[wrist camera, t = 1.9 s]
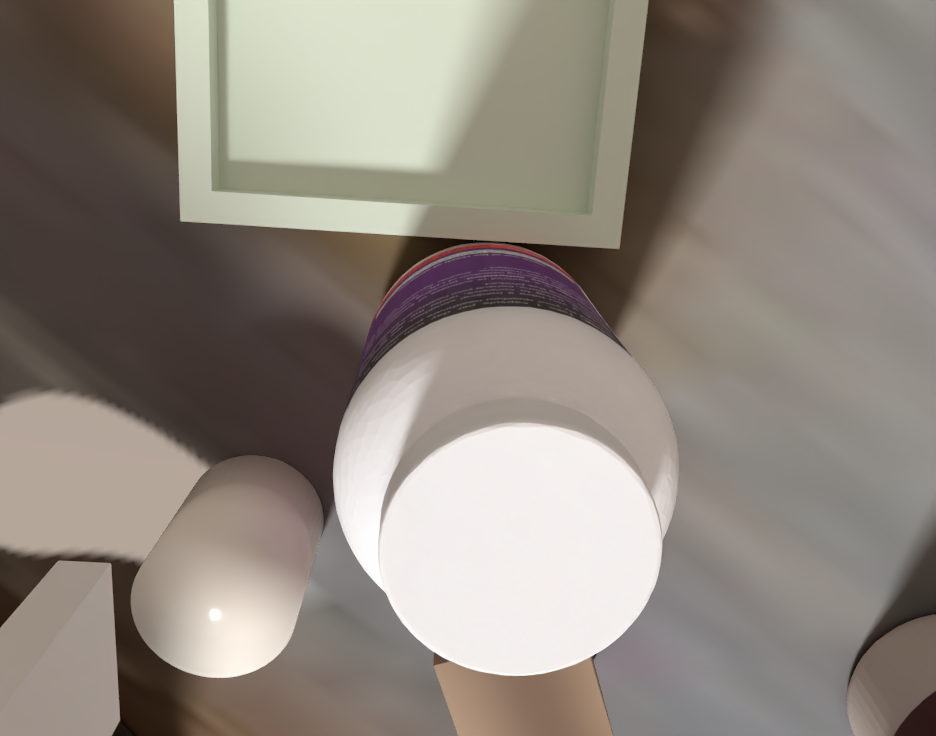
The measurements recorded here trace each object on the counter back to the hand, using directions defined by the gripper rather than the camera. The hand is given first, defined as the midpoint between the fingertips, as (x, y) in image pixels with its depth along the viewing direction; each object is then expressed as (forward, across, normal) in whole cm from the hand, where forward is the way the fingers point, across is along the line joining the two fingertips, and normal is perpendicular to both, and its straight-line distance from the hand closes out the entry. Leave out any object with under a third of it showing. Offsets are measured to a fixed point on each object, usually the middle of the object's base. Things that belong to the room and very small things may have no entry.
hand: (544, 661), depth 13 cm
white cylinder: (+18, -8, -7) cm, 21 cm away
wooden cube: (+18, +2, -11) cm, 21 cm away
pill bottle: (+18, 0, 0) cm, 18 cm away
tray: (+18, -3, +11) cm, 21 cm away
